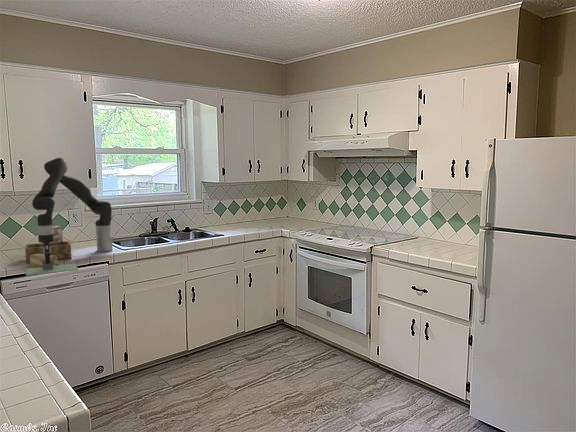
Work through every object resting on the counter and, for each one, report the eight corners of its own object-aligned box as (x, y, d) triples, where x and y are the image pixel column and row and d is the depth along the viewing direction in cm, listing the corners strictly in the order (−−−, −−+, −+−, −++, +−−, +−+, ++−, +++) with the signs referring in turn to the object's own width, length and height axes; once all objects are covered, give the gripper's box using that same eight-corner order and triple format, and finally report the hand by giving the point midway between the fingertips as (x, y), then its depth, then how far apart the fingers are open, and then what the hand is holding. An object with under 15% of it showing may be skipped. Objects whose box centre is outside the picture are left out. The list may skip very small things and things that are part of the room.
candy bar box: (46, 253, 292) (44, 228, 290) (43, 252, 296) (41, 227, 293) (63, 250, 301) (62, 226, 299) (60, 249, 304) (58, 225, 302)
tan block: (36, 263, 265) (35, 253, 264) (57, 265, 259) (56, 255, 258) (30, 265, 261) (29, 255, 260) (51, 267, 255) (50, 257, 255)
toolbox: (70, 254, 287) (69, 241, 286) (71, 259, 275) (70, 244, 274) (26, 258, 276) (25, 244, 274) (26, 263, 263) (25, 248, 262)
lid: (76, 265, 261) (75, 255, 261) (78, 271, 248) (77, 260, 248) (26, 270, 249) (25, 259, 249) (26, 276, 236) (25, 265, 236)
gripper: (37, 231, 249) (40, 260, 252) (37, 235, 237) (40, 265, 239) (53, 230, 253) (55, 258, 255) (53, 234, 241) (55, 264, 243)
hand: (47, 262), depth 247 cm, fingers open, 8 cm apart
